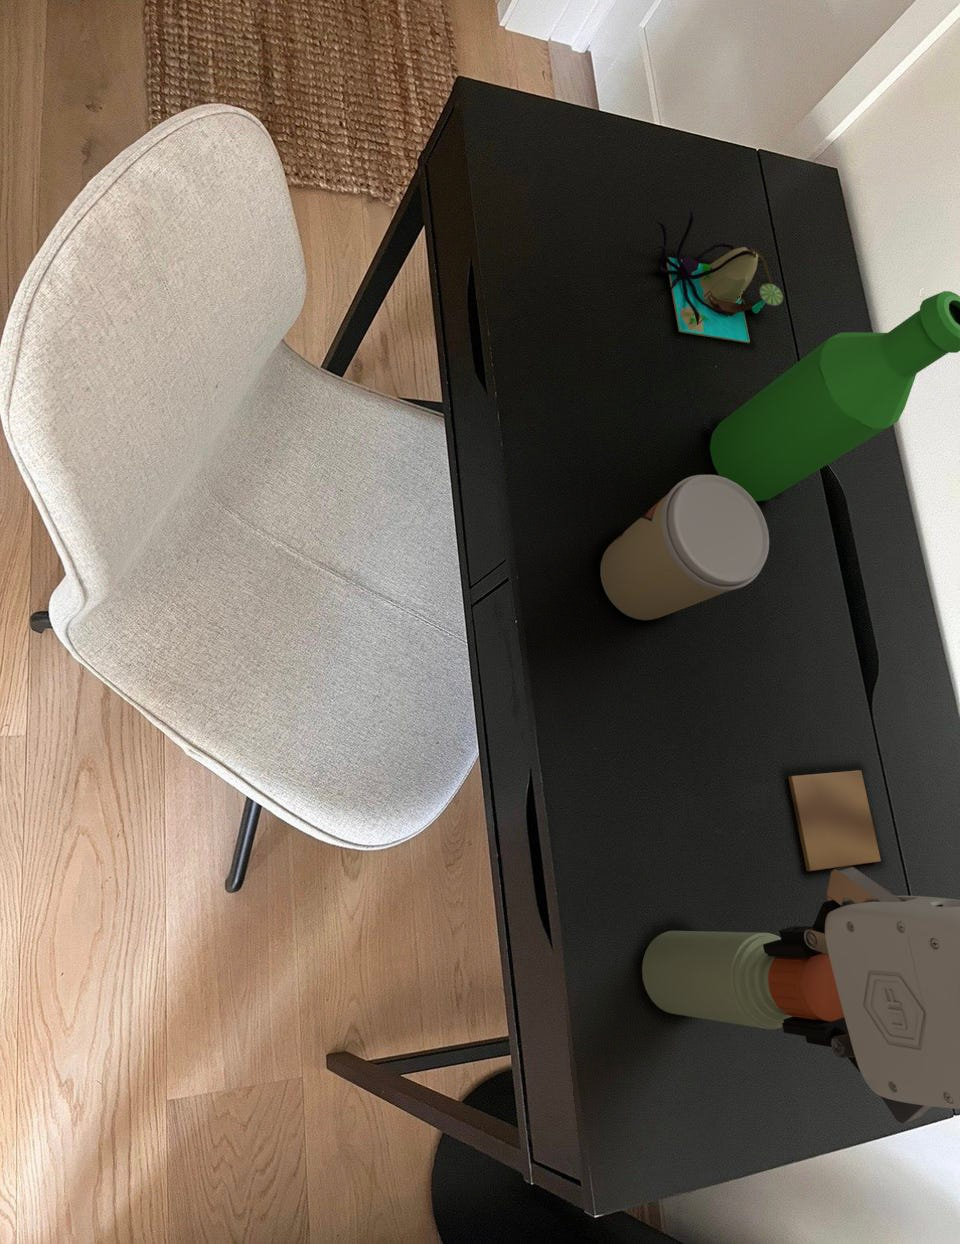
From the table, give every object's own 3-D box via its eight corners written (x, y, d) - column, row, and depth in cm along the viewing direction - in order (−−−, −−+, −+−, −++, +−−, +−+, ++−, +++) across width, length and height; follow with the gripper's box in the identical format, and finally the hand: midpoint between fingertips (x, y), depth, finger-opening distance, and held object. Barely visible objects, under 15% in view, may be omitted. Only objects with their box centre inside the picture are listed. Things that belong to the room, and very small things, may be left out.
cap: (781, 935, 60) (816, 936, 57) (827, 972, 60) (863, 974, 58) (758, 993, 58) (792, 997, 55) (805, 1030, 59) (841, 1036, 56)
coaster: (877, 861, 82) (881, 861, 81) (806, 871, 78) (810, 871, 78) (857, 770, 84) (861, 770, 83) (787, 776, 80) (791, 776, 80)
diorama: (769, 346, 95) (806, 316, 90) (645, 326, 89) (677, 292, 84) (750, 252, 98) (784, 218, 93) (628, 227, 92) (659, 189, 87)
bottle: (690, 431, 87) (894, 268, 65) (754, 413, 91) (967, 253, 69) (730, 515, 86) (951, 377, 64) (793, 493, 90) (1022, 356, 68)
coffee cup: (666, 523, 83) (751, 466, 73) (696, 622, 81) (788, 578, 71) (578, 533, 79) (654, 475, 69) (608, 637, 77) (691, 593, 67)
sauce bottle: (719, 993, 72) (874, 1011, 58) (659, 1027, 69) (807, 1055, 55) (690, 918, 73) (835, 918, 59) (630, 949, 70) (767, 957, 56)
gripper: (944, 841, 44) (712, 861, 60) (1058, 1232, 40) (778, 1140, 56) (1047, 815, 47) (800, 840, 63) (1163, 1176, 43) (868, 1104, 59)
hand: (792, 982), depth 59 cm, fingers closed on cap, 4 cm apart
